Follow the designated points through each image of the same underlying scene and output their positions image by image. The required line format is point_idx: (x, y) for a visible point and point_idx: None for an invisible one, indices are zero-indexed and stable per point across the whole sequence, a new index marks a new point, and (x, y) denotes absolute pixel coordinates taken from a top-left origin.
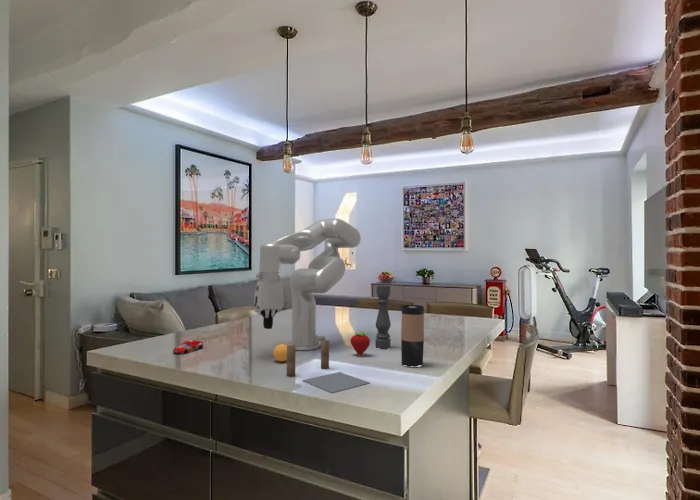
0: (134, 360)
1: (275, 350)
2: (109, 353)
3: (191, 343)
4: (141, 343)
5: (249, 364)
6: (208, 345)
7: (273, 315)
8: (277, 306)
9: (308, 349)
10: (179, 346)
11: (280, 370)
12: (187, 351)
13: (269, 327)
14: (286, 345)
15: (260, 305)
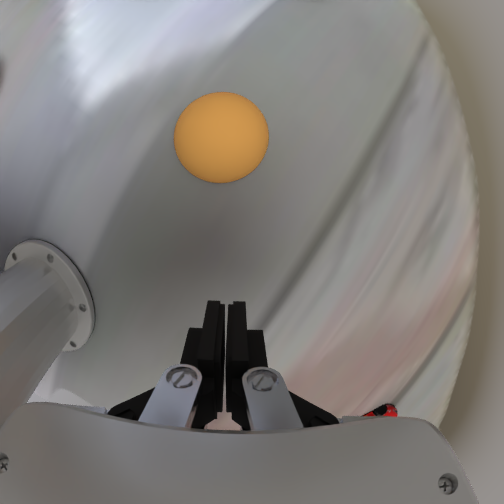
0: (453, 385)
1: (266, 133)
2: None
3: None
4: None
5: (351, 194)
6: None
7: (174, 381)
8: (103, 442)
9: (45, 242)
10: None
11: (306, 42)
12: (375, 412)
13: (233, 304)
14: (199, 114)
15: (449, 445)
